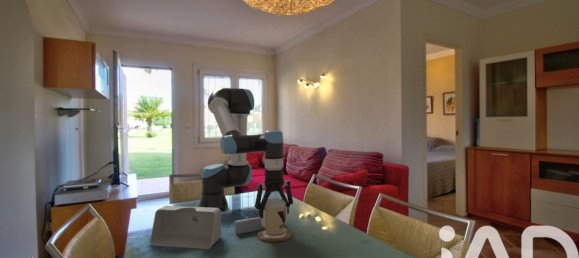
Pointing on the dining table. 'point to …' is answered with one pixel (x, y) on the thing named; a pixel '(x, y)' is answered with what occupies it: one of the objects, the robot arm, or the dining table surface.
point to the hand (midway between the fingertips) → (274, 223)
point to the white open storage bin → (186, 227)
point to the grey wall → (248, 225)
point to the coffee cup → (275, 216)
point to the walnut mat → (274, 236)
